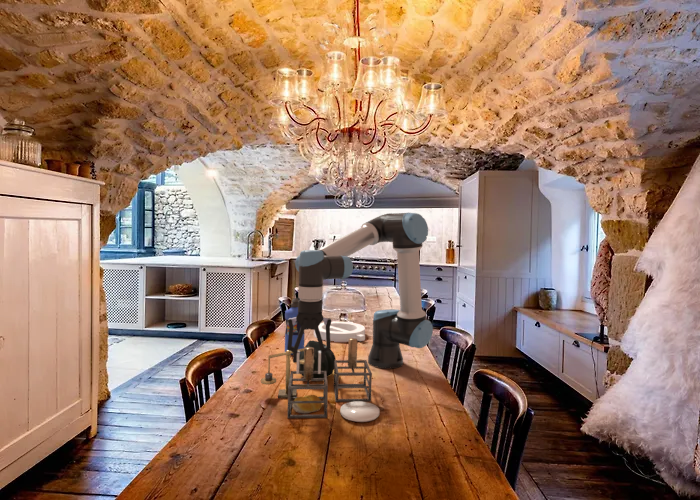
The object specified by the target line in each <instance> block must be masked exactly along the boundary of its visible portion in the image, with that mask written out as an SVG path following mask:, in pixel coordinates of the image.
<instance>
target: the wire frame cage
mask: <svg viewBox="0 0 700 500" xmlns="http://www.w3.org/2000/svg"><path fill="white" fill-rule="evenodd" d="M313 365H314V348H313V347H306V348H304V371H299V374H298V375H301V374H304V377H302V378H294V375H297V374H296V370H290V380H289V386H288V398H287V416H286V417H287V419H327V418H328V400H329V399H328V396H329V395H328V391H329V390H328V389H329V385H328V376H327V374H326V371H321V374H324V378H313V374H318V371H313ZM320 381H321V382H323V383H320V384H319V383H314V384H313V383H312V384H311V383H310V382H320ZM294 382H306V383H305V384H302V383H301V384H300V383H299V384H296V383H295V384H294ZM293 389H297V390H323V393H322V394H323V396H318V397H319V398H320V400H321V401H294V400H295V399H296V398H297V397H298V396H296V397H293ZM293 403H322V404H323V413H324V414H322V413H320V414H291V413H292V407H293Z"/></svg>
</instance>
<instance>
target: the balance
mask: <svg viewBox="0 0 700 500" xmlns="http://www.w3.org/2000/svg"><path fill="white" fill-rule="evenodd" d="M297 351H300V352H302V351H304V348H303V349H298V350H297ZM291 354H293V352H292V351H288V350H287V351H286V352H285V351H283V352H280V353H274V354H271V355H268V363H267V364H268V365H267V366H268V367H267V372H266V373H265V374H264V377H263V378H262V379H261V380H260V382H261V384H263V385H273V384H276V383H277V378H275V377H273V373H272V372H270V370H271V368H270V367H271V366H270V365H271V359H272V358H278V357H283V356H285V389H283V388H282V389H281V388H280V389H278V392H277V399H288V386H289V380H290V374H291V356H292V355H291ZM300 364H302V365H304V359H301V360H300ZM297 391H298V389H293V397H297V393H298V392H297Z"/></svg>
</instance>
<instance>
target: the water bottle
mask: <svg viewBox="0 0 700 500" xmlns="http://www.w3.org/2000/svg"><path fill="white" fill-rule="evenodd" d="M299 300H300V299H299V298H298V297H296V298H293V299H292V300H291V303H290V308H289V309H286V310H285V311H284V312H285V313H284V319H285V332H284V352H286V351H287V347H288V337H289V324H288V319H289V318H294V317H296V316H297V314H298V301H299ZM300 328H301V325H300V324H299V323H298V321H296V322H295V325H294V328H293V338H292V346H293V347H294V346H295V343H296V340H297V337H298V334H299V331H300ZM304 347H305V332H304V333H303V336H302V339H301V341H300V344H299V347H298V349H303V348H304ZM300 353H301V352H300ZM290 356H293V354H291V355H290Z"/></svg>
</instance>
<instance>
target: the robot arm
mask: <svg viewBox="0 0 700 500" xmlns="http://www.w3.org/2000/svg"><path fill="white" fill-rule="evenodd" d="M428 235H429V227H428V223H427V220H426V219H425V218H424V217H423V215H421V214H420V213H416V212H397V213H396V212H395V213H392V212H391V213H386V214H385V213H384V214H382V215H379V216H377V217H374V218H372V219H370V220H368V221H366V222H365V223H363V224H362V225H361V226H360V228H358V229H357V230H354V231H352V232H350V233H348V234H347V235H344V236H342V237H340V238H338V239H337V240H334V241H332V242H330V243H329V244H327V245H324V246H323V247H320V248H319V249H314V250H313V249H305V250H304V249H303V250H301V251H300V253H299V255H298V256H297V257H296V259H295V264H294V265H295V269H296V271H297V272H298V287H297V289H298V293H297V294H298V297H297V298H298V300H299V301H298V314H297V316H296V317H294V318H289V319H288V324H289V337H288V347H287V350H288V351H292V352H293V355H292V362H293V364H294V363H295V364H296V367H295V368H296V370H295V371H296V374H295V375H300V374H299V354H300V351H297V350H298V347H299V344H300V341H301V339H302V336H303V333H305V331H306V330H307V331H308V330H313V331H314V330H315V333H316V336H317V338H316V339H317V342H318V343H319V346H320V350H321V351H319V354H318V374H321V363H324V361H325V352H326V351H330V350H332V349H331V341H330V325H331V322H332V319H331V317H324V315H323V300H322V299H323V294H324V293H323V290H324V284H323V283H324V280H335V279H336V280H337V279H338V280H342V279H347V278H349V277H351V275H352V273H353V271H354V263H353V261H352V260H351V258H350V257H349V256H351V255H353V254H355V253H357V252H358V251H360V250H363V249H364V248H366V247H368V246H375V245H377V244H380V243H392V248H393V250H394V251H396V255H397V257H396V259H397V260H396V261H397V269H398V270H397V273H398V274H397V275H398V291H399V292H398V293H399V308H400V309H397V308H396V309H380V310H379V309H378V310H376V311H375V312H374V313H373V319H372V345H371V349H370V351H369V354H368V358H367V363H368V365H370V366H371V367H375V368H381V369H396V368H397V369H398V368H401V367H402V366H403V365H404V357H403V354H402V353H403V352H402V350H401V347H400V345H403V346H407V347H410V348H415V349H423V348H424V347H426V346H427V345H428V344H429V343H430V340H431V339H432V336H433V331H434V329H433V327H434V326H433V324H432V321H430V320H429V319H427V313H426V311H425V310H423V306H422V305H423V303H422V287H421V286H422V285H421V284H422V283H421V269H420V265H421V264H420V250H421V249H422V248H423V243H425V242H426V241H427V237H428ZM296 321H298V323H299V324H300V325H301V328H300V331H299V334H298V337H297V340H296V343H295V346H294V347H293V346H292V338H293V328H294V325H295V322H296ZM320 323H324V325H326V341H325V342H326V344H325V345H326V346H325V347H324V345H323V344H324V342H323V341H324V340H322V338H321V335H320V331H319V328H318V326H319V325H320Z"/></svg>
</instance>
